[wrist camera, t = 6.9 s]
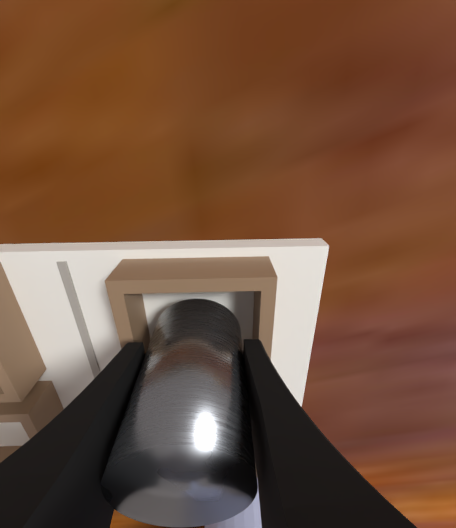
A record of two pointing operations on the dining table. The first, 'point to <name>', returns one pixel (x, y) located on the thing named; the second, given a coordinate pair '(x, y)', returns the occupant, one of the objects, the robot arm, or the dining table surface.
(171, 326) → the steel pin
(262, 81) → the dining table surface
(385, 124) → the dining table surface
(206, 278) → the white board with compartments
